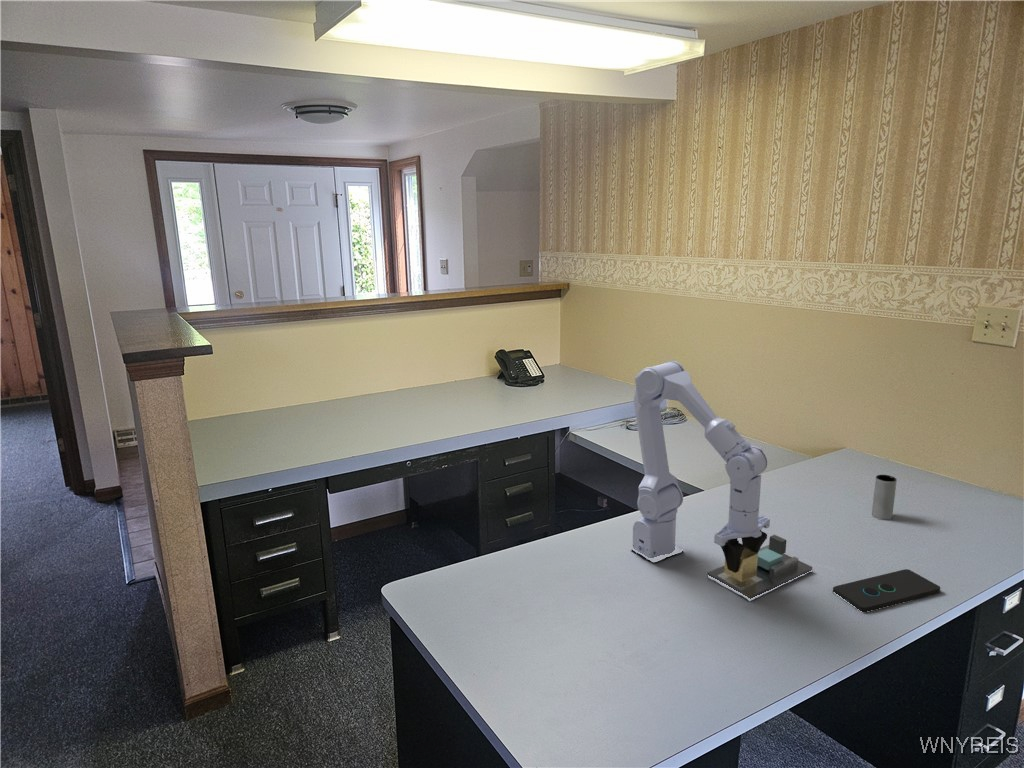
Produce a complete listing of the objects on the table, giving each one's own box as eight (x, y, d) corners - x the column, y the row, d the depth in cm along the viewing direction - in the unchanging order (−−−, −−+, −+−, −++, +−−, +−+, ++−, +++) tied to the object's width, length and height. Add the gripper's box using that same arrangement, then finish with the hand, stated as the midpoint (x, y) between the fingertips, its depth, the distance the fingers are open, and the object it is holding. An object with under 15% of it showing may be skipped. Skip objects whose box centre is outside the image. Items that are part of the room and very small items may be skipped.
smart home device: (830, 586, 132) (907, 567, 138) (830, 593, 132) (906, 574, 138) (863, 607, 124) (943, 587, 130) (863, 615, 125) (941, 595, 131)
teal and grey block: (768, 570, 137) (770, 548, 136) (752, 562, 140) (754, 541, 139) (786, 562, 140) (788, 540, 139) (771, 554, 143) (772, 533, 142)
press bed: (750, 601, 130) (751, 587, 129) (707, 577, 139) (708, 564, 138) (812, 571, 140) (813, 558, 139) (768, 551, 149) (769, 538, 148)
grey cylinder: (887, 512, 166) (891, 474, 164) (895, 520, 162) (900, 481, 159) (868, 512, 167) (872, 474, 164) (876, 519, 162) (880, 481, 160)
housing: (741, 582, 132) (743, 559, 131) (724, 572, 136) (725, 550, 135) (756, 575, 135) (757, 553, 133) (738, 566, 138) (740, 544, 137)
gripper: (735, 523, 125) (732, 586, 128) (784, 504, 132) (779, 564, 135) (707, 510, 131) (704, 570, 134) (755, 492, 138) (751, 551, 141)
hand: (740, 566), depth 135 cm, fingers closed on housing, 4 cm apart
